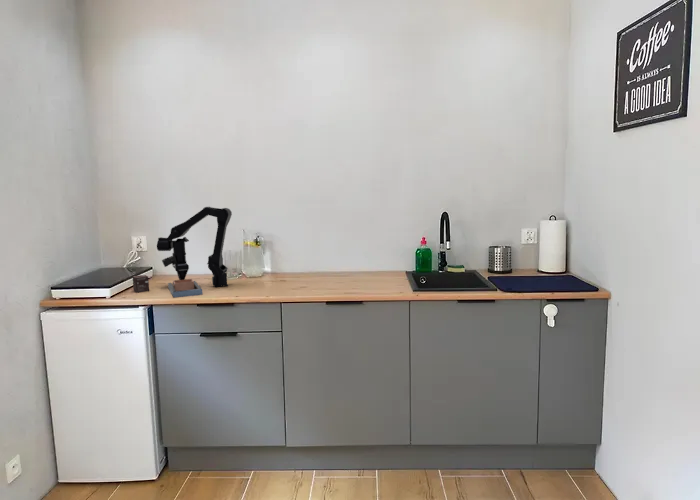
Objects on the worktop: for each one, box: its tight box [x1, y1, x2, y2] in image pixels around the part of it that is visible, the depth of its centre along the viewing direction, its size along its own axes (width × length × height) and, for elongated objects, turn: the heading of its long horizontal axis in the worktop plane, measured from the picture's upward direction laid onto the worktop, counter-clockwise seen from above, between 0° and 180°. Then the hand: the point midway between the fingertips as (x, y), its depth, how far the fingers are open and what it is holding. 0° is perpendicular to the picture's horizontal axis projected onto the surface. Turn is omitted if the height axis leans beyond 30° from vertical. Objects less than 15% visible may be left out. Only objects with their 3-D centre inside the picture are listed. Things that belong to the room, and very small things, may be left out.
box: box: [132, 274, 150, 293], centre depth 250 cm, size 6×6×7 cm
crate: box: [172, 278, 195, 291], centre depth 252 cm, size 9×8×4 cm
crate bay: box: [167, 280, 203, 298], centre depth 249 cm, size 13×23×2 cm, turn 25°
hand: (181, 281), depth 261 cm, fingers open, 9 cm apart
